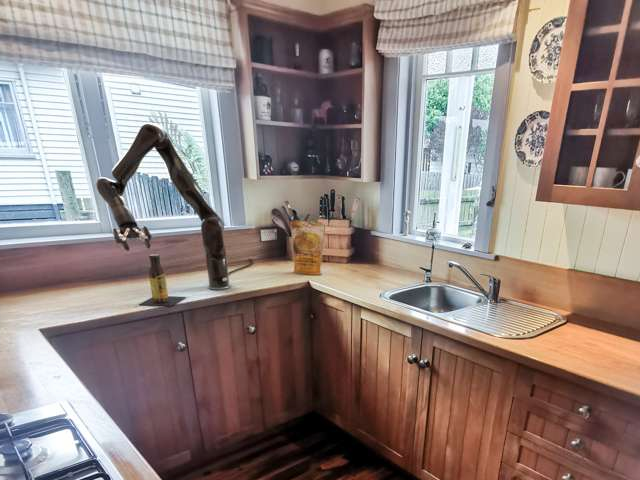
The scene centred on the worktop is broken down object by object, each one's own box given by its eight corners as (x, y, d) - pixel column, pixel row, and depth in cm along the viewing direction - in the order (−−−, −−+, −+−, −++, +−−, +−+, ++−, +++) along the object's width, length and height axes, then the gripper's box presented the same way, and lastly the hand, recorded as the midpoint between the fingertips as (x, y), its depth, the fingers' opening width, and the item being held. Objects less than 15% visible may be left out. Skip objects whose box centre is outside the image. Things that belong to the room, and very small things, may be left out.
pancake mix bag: (294, 270, 266) (292, 219, 254) (326, 273, 261) (325, 221, 250) (289, 273, 260) (287, 220, 248) (321, 276, 256) (320, 223, 244)
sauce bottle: (163, 303, 199) (155, 256, 191) (150, 302, 200) (141, 255, 192) (172, 299, 205) (165, 254, 196) (159, 298, 206) (151, 253, 198)
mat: (155, 296, 210) (155, 295, 210) (185, 297, 209) (185, 297, 209) (139, 305, 197) (139, 304, 197) (171, 306, 197) (171, 305, 197)
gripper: (107, 213, 196) (122, 245, 193) (142, 211, 205) (156, 241, 203) (106, 225, 202) (120, 256, 199) (140, 222, 211) (154, 252, 208)
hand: (138, 248), depth 201 cm, fingers open, 8 cm apart
